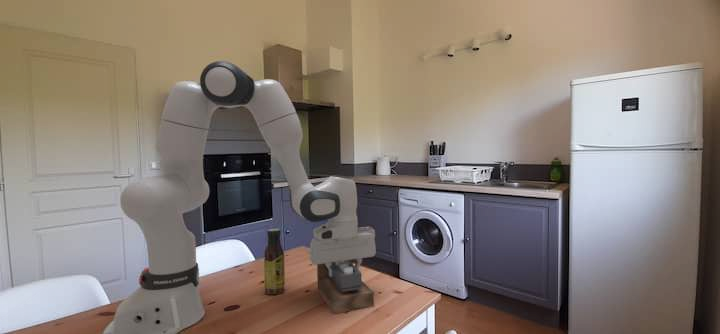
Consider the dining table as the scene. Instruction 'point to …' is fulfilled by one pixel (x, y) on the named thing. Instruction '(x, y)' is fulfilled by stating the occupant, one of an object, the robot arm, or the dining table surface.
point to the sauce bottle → (274, 264)
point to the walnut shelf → (342, 293)
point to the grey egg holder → (346, 276)
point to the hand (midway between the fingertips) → (343, 274)
